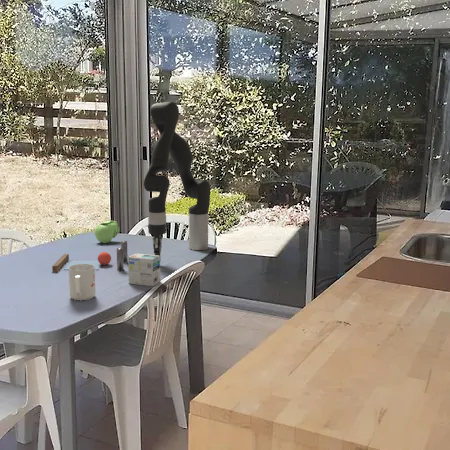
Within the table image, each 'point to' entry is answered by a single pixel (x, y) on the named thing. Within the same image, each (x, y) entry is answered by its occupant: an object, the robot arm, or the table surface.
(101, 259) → the ball
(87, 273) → the mug
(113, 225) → the green rounded piece
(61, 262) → the stopper wall
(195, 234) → the robot arm
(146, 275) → the light bulb box
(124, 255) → the far post
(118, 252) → the near post
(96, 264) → the light blue tilted panel
